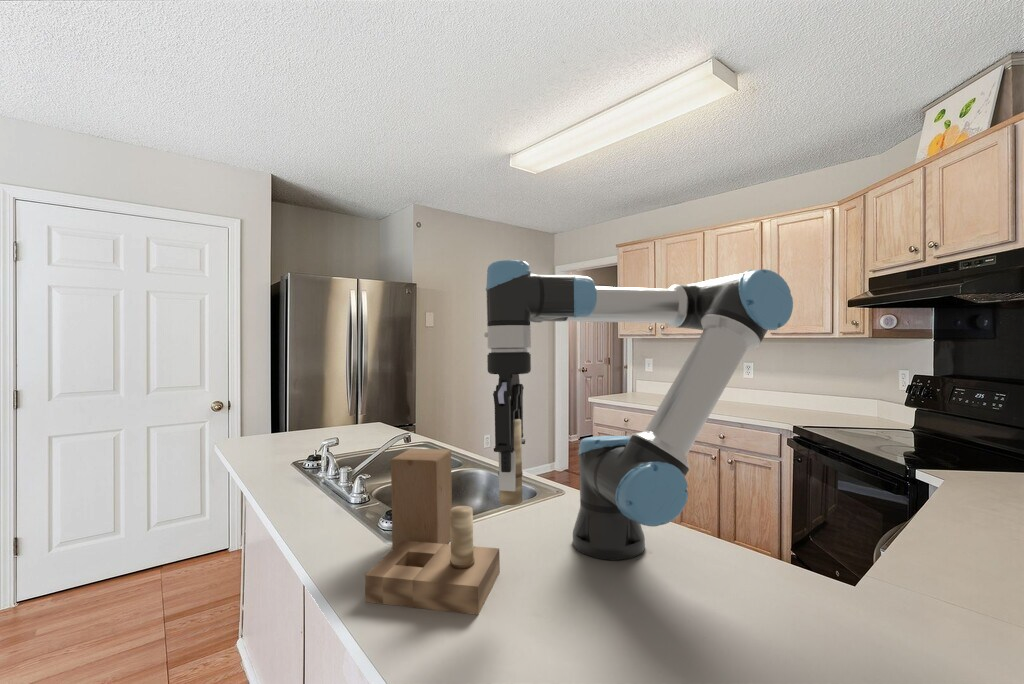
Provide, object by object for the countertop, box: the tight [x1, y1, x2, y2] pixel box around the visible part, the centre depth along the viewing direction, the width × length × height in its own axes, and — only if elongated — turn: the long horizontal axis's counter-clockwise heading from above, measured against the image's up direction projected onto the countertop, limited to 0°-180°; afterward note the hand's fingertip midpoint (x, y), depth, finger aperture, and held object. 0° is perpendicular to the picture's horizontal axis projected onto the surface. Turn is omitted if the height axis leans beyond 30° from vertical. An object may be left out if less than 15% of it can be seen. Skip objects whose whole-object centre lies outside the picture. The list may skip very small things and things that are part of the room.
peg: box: [497, 419, 523, 506], centre depth 79 cm, size 4×4×14 cm
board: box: [364, 505, 501, 616], centre depth 82 cm, size 20×14×14 cm
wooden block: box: [390, 448, 453, 551], centre depth 99 cm, size 10×10×20 cm
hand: (510, 485), depth 79 cm, fingers closed on peg, 4 cm apart
